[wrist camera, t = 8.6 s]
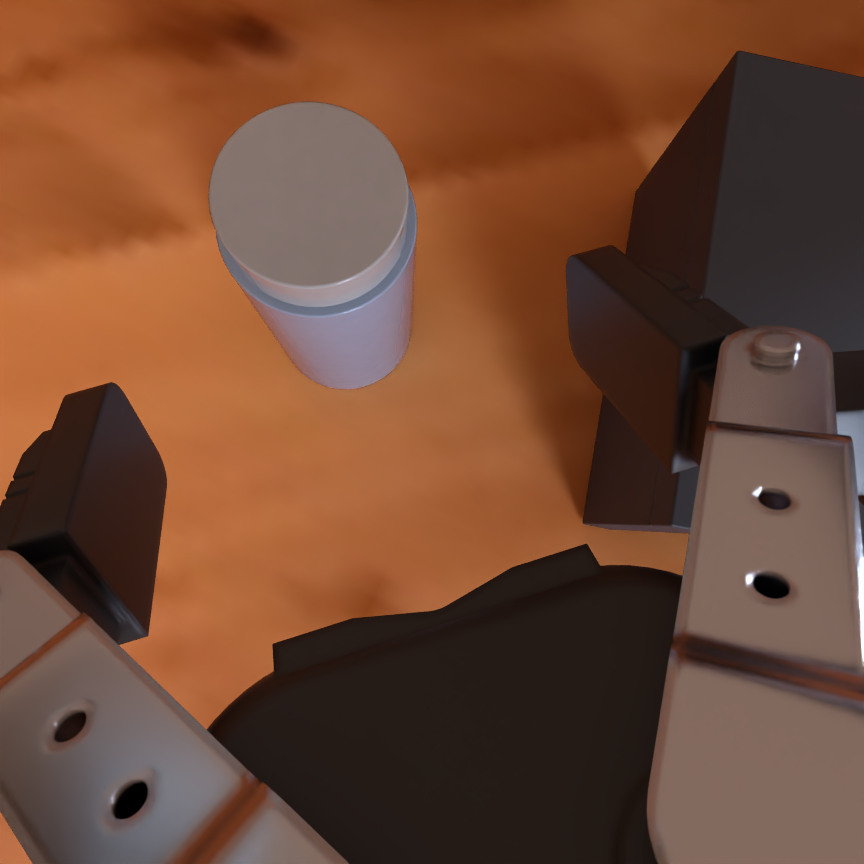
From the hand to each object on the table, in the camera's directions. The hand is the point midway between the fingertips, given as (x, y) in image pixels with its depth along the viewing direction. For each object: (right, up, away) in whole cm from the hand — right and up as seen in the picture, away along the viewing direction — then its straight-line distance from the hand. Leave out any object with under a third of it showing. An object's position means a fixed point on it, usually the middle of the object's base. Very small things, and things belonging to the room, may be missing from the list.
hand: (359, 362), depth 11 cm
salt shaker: (-2, +2, +10) cm, 11 cm away
